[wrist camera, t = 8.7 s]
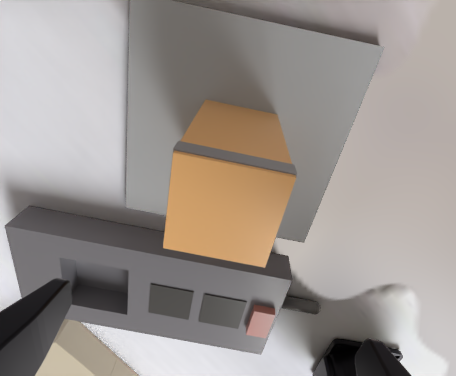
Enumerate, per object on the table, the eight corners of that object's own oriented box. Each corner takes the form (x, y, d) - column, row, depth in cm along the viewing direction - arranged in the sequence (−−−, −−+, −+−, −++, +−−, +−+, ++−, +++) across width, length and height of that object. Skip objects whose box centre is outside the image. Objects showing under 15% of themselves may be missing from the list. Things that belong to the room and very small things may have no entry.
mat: (380, 46, 15) (384, 47, 15) (302, 237, 22) (303, 242, 21) (134, -8, 15) (129, -9, 14) (128, 203, 21) (125, 207, 21)
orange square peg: (278, 113, 17) (298, 176, 10) (260, 178, 19) (265, 268, 12) (204, 98, 17) (171, 151, 10) (194, 165, 19) (161, 248, 12)
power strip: (338, 265, 23) (350, 298, 20) (302, 335, 27) (308, 370, 24) (29, 205, 22) (-2, 231, 19) (43, 287, 26) (19, 318, 24)
